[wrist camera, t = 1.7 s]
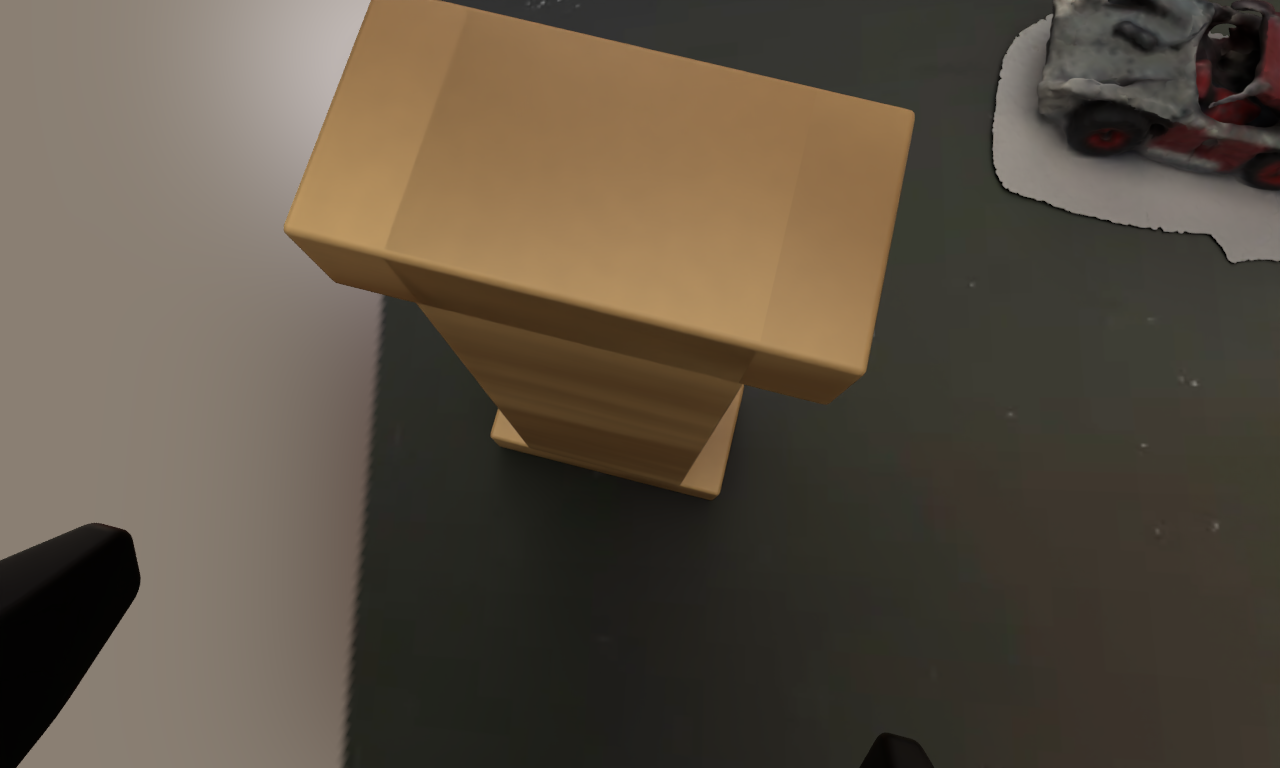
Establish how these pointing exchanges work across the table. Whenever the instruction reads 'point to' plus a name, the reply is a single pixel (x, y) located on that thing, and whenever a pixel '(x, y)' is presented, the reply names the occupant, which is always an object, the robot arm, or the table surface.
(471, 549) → the table surface
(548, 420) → the letter I
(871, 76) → the table surface
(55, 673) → the robot arm
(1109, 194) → the toy car
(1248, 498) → the table surface
